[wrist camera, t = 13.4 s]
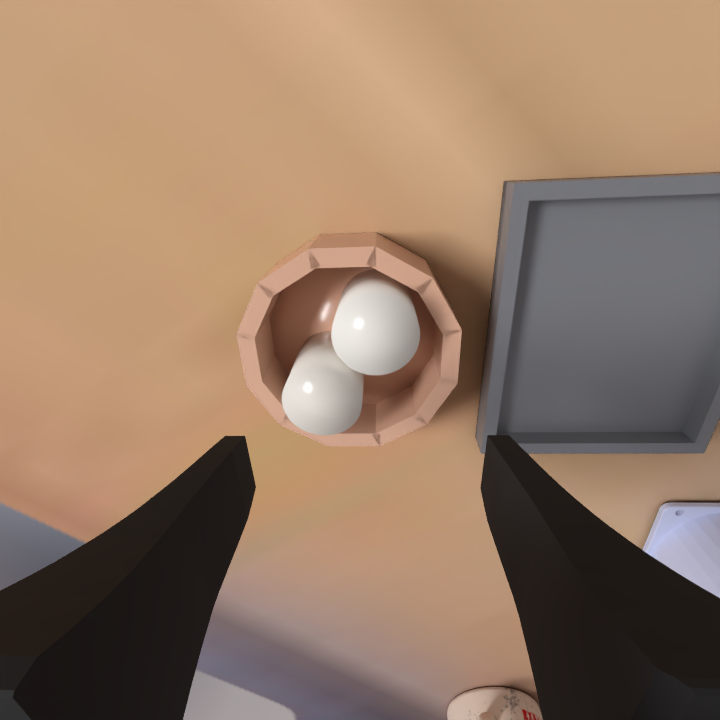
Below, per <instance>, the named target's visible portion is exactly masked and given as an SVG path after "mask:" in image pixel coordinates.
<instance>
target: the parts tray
mask: <svg viewBox="0 0 720 720" xmlns="http://www.w3.org/2000/svg"><path fill="white" fill-rule="evenodd" d="M719 419H720V172H710V173H687V174H663V175H639V176H615V177H591V178H567V179H543V180H519V181H504V185H503V194H502V203H501V212H500V221H499V230H498V239H497V248H496V257H495V266H494V275H493V284H492V293H491V302H490V311H489V320H488V329H487V338H486V347H485V356H484V365H483V374H482V383H481V392H480V401H479V409H478V418H477V427H476V436H475V437H476V440H477V443H478V446H479V449H480V452H481V454H485V450H486V442H487V435H509V436H510V437H511V438H512V439H513V440H514V441H515V442H516V443H517V444H518V445H519V446H520V447H521V448H522V449H523V450H524V451H525V452H526V453H704V452H705V450H706V448H707V446H708V443H709V441H710V439H711V437H712V434H713V432H714V430H715V428H716V425H717V423H718V421H719Z"/></svg>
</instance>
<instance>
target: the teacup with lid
mask: <svg viewBox="0 0 720 720" xmlns="http://www.w3.org/2000/svg"><path fill="white" fill-rule="evenodd" d="M447 715H448V720H543V718H542V715H541V711H540V708H539V706H538V704H537V703H536V701H535V700H534V699H533V698H531V697H530V696H529V695H527V694H525V693H523V692H521V691H518V690H515V689H511V688H505V687H483V688H477V689H473V690H469V691H467V692H464V693H462V694H460V695H458V696H457V697H456V698H455V699H453V700H452V702H451V703H450V705H449V707H448V711H447Z"/></svg>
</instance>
